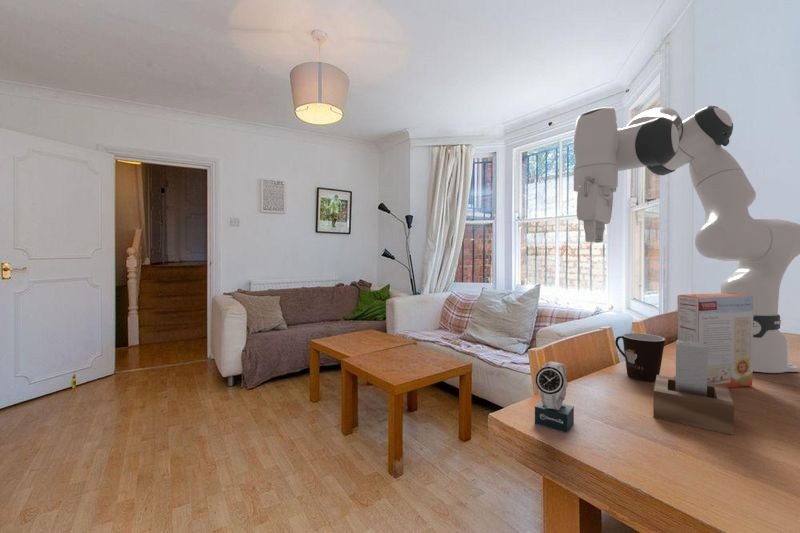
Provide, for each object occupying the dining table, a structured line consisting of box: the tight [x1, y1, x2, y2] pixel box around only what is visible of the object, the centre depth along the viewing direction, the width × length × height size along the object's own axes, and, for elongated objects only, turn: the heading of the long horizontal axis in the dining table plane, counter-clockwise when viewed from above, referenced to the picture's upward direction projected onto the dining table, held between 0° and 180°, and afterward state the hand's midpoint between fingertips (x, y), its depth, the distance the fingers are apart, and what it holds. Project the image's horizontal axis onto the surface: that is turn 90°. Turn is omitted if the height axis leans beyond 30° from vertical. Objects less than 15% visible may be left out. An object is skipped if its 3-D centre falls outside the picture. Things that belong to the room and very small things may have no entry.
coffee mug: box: [615, 332, 666, 383], centre depth 89 cm, size 12×9×10 cm
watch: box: [534, 360, 575, 434], centre depth 65 cm, size 6×8×11 cm
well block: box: [652, 374, 735, 436], centre depth 68 cm, size 11×11×5 cm
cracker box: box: [677, 292, 754, 388], centre depth 83 cm, size 14×6×21 cm, turn 97°
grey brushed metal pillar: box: [675, 339, 708, 397], centre depth 68 cm, size 4×4×13 cm
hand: (594, 242), depth 82 cm, fingers open, 8 cm apart
